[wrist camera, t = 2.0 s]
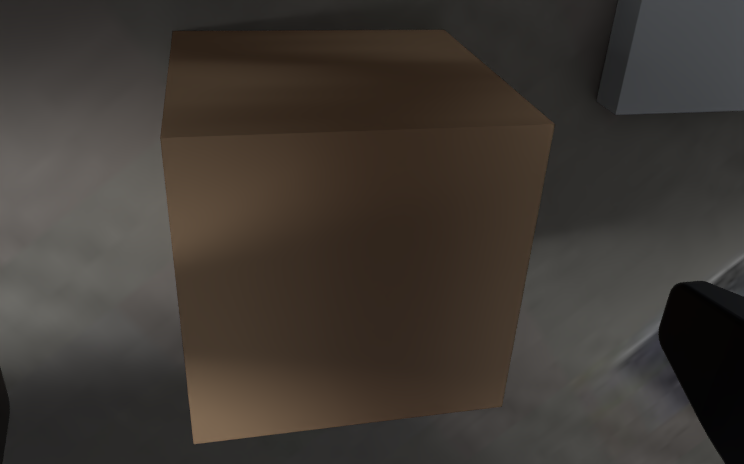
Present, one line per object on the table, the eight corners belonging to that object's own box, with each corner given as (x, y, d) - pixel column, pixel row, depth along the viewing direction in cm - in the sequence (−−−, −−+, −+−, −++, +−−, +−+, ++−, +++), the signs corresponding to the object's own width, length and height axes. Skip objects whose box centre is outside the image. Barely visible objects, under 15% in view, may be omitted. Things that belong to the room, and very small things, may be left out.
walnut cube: (194, 267, 15) (193, 444, 11) (173, 29, 12) (160, 138, 8) (421, 251, 16) (501, 406, 12) (443, 28, 13) (554, 124, 9)
